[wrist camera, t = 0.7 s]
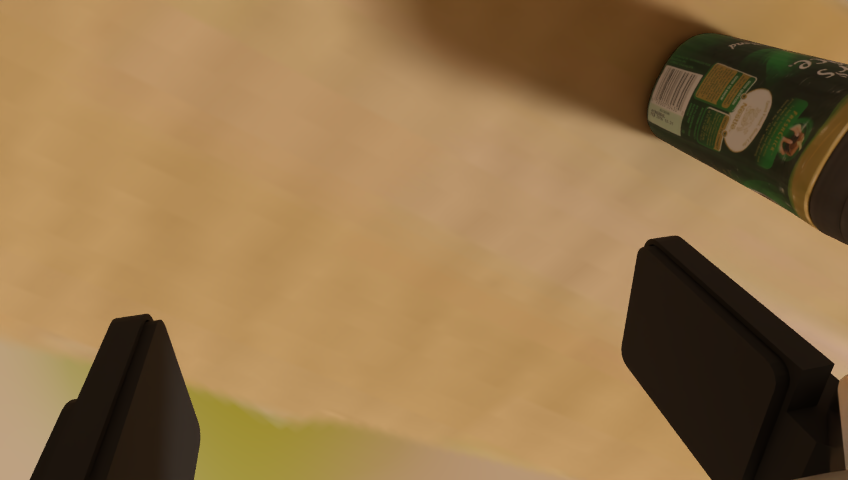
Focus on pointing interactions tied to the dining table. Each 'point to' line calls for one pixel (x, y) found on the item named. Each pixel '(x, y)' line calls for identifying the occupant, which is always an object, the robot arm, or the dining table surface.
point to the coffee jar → (761, 122)
